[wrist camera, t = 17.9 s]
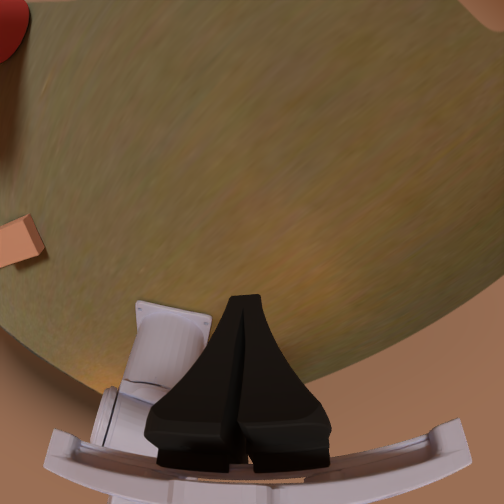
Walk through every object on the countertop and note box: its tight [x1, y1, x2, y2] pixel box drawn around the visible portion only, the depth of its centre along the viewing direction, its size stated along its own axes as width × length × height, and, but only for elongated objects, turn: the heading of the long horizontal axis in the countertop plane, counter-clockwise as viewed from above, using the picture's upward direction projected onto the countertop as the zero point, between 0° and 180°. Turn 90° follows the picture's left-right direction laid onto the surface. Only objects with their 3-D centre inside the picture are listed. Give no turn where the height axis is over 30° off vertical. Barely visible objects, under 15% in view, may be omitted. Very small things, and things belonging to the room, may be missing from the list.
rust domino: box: [0, 214, 45, 268], centre depth 22 cm, size 2×4×7 cm
